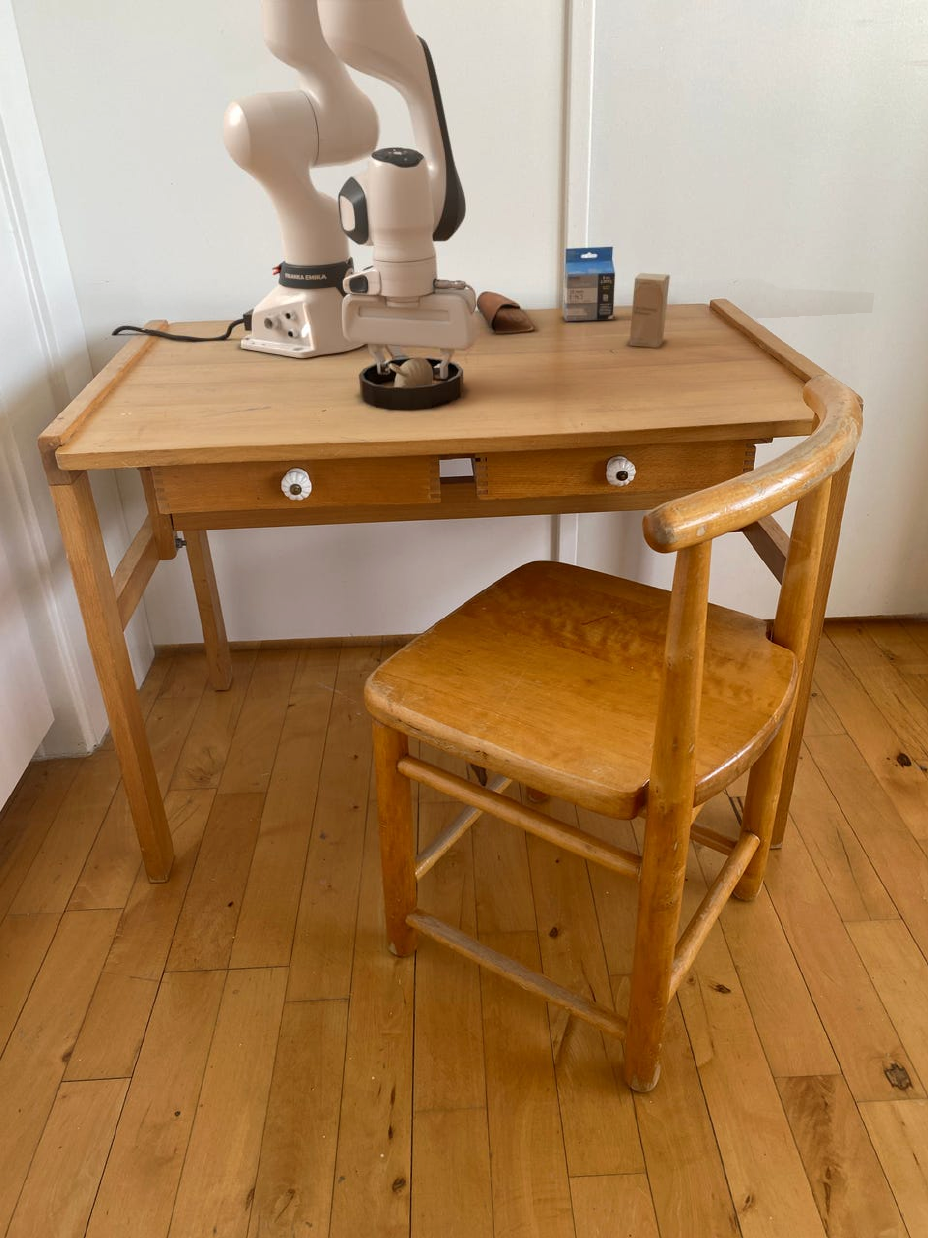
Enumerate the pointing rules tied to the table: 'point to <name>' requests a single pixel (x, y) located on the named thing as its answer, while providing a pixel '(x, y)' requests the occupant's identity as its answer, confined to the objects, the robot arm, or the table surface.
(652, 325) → the box
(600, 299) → the label tape box
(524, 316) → the sunglasses case
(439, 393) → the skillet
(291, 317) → the robot arm
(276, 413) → the table surface
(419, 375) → the decorative ornament
